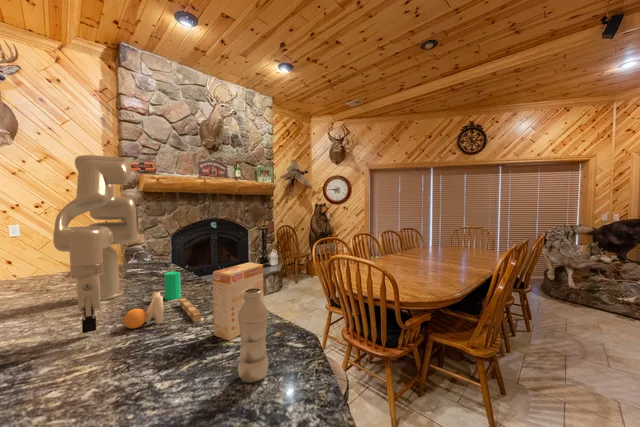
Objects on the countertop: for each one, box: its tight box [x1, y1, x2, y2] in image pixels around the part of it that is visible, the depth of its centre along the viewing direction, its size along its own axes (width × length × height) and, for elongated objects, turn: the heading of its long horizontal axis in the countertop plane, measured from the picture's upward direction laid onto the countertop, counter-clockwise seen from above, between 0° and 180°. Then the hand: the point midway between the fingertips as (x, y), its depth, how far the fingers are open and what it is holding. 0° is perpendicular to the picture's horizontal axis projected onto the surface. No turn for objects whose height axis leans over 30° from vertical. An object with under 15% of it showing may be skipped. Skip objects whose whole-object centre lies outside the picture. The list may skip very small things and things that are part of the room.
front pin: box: [144, 295, 158, 324], centre depth 94 cm, size 2×2×8 cm
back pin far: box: [151, 291, 161, 320], centre depth 97 cm, size 2×2×8 cm
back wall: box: [179, 297, 201, 323], centre depth 102 cm, size 20×2×2 cm, turn 39°
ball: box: [123, 308, 146, 330], centre depth 89 cm, size 6×6×6 cm
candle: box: [163, 270, 182, 301], centre depth 118 cm, size 6×6×12 cm
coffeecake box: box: [212, 262, 265, 341], centre depth 88 cm, size 15×7×20 cm, turn 149°
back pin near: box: [154, 295, 165, 325], centre depth 93 cm, size 2×2×8 cm
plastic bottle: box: [237, 288, 269, 384], centre depth 63 cm, size 6×7×20 cm
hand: (89, 330), depth 84 cm, fingers closed
